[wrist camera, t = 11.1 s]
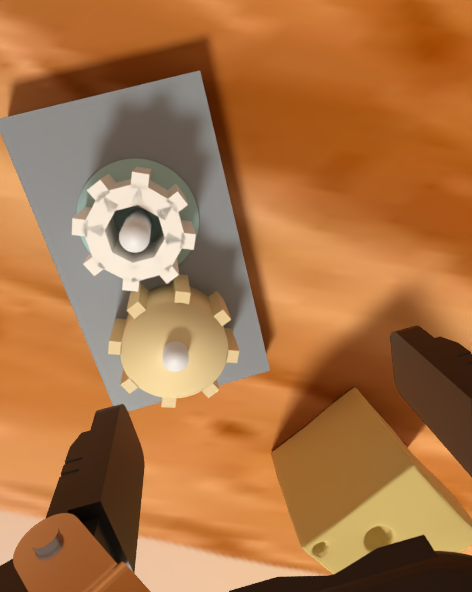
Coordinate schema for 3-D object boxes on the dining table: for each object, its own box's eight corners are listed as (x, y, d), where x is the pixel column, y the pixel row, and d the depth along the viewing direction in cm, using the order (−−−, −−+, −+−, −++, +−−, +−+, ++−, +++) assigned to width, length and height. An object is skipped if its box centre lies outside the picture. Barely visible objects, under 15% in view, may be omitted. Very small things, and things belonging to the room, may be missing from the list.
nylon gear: (174, 157, 26) (176, 160, 23) (201, 255, 29) (206, 273, 25) (70, 183, 26) (54, 191, 22) (106, 280, 28) (97, 302, 25)
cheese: (329, 510, 42) (375, 616, 33) (262, 449, 38) (293, 550, 29) (414, 446, 41) (488, 537, 32) (354, 377, 37) (418, 458, 28)
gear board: (197, 74, 27) (208, 55, 20) (264, 358, 35) (287, 409, 28) (7, 120, 26) (-45, 116, 20) (119, 399, 34) (109, 461, 27)
